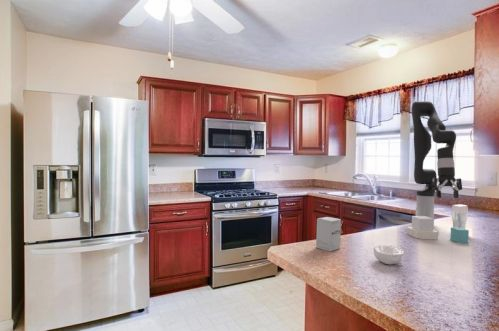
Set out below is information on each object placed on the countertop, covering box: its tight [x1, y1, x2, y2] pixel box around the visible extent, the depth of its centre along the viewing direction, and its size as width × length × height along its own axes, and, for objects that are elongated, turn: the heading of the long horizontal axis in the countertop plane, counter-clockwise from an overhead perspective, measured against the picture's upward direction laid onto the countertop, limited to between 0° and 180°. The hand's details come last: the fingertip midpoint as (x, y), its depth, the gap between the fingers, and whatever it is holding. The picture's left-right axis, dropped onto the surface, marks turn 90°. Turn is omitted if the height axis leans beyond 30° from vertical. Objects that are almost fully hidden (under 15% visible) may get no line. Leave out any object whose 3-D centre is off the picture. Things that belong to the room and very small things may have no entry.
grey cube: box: [411, 215, 435, 231], centre depth 149 cm, size 7×7×6 cm
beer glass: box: [451, 204, 469, 229], centre depth 155 cm, size 7×7×15 cm
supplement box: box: [315, 216, 342, 252], centre depth 125 cm, size 7×7×13 cm
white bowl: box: [372, 244, 404, 265], centre depth 109 cm, size 10×12×7 cm
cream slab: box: [406, 226, 439, 240], centre depth 149 cm, size 10×10×4 cm
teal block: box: [450, 227, 470, 244], centre depth 140 cm, size 5×5×6 cm
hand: (447, 198), depth 155 cm, fingers open, 8 cm apart
